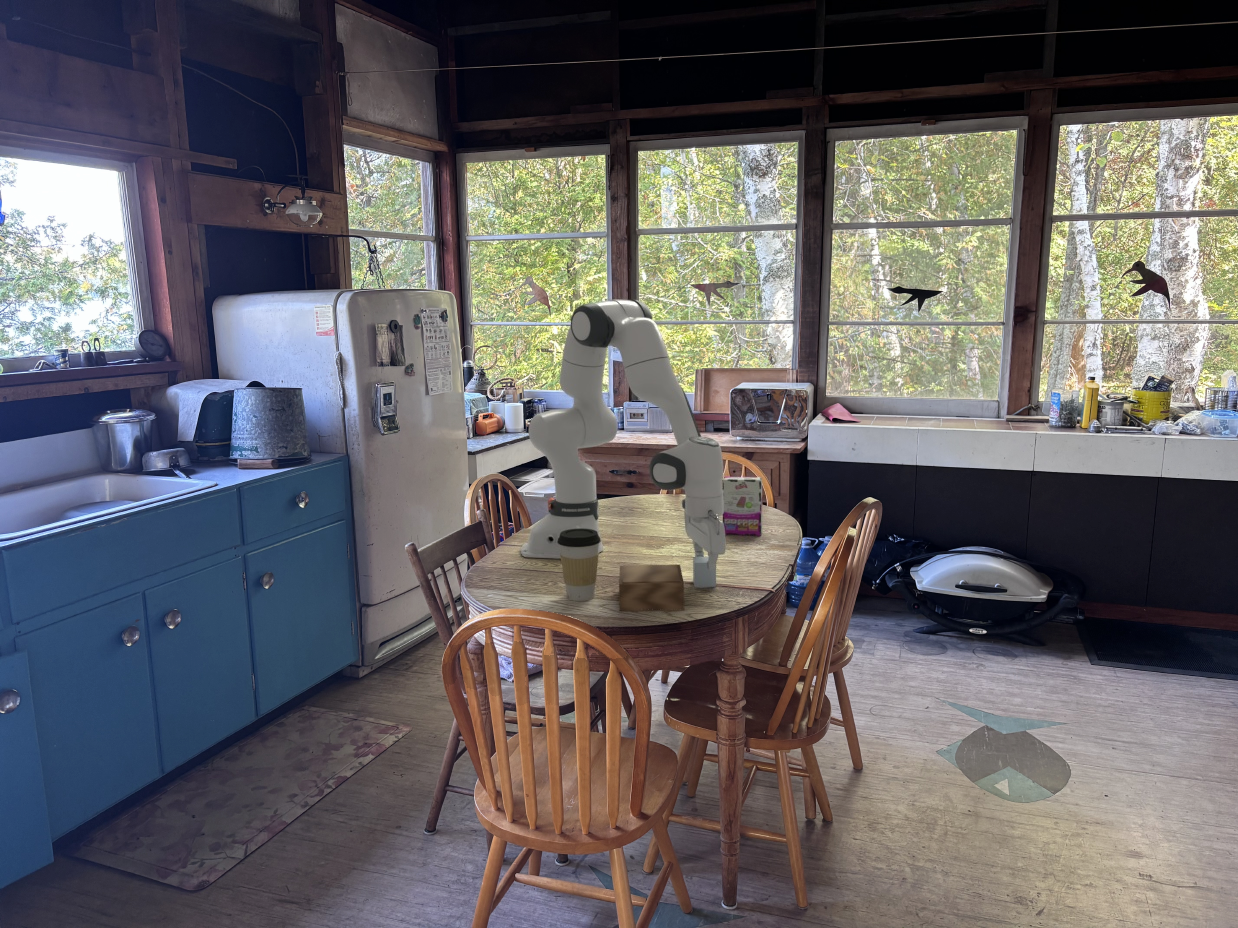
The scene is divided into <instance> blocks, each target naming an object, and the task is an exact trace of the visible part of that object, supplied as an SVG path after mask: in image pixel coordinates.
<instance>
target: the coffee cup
mask: <svg viewBox="0 0 1238 928" xmlns="http://www.w3.org/2000/svg"><path fill="white" fill-rule="evenodd" d="M600 537H601V536H600ZM600 537H599V536H598V532H597V531H595V530H592V529H584V528H578V529H569V530H565V531H562V532H561V533H560V536H559V538H558V541H557V543H558V544H559V545H560V551H561V554H560V557H561V559H560V562H561V569H562V576H563V582H564V585H565V591H566V592H565V593H566V598H567V599H568V600H570V601H573V602H574V601H575V602H586V601H590V600H593V599H594V598H595V591H596V582H597V576H598V575H597V573H598V566H599V565H598V563H599V554H600V552H599V553H598V547H599V543H600V542H601V541H602V539H600Z"/></svg>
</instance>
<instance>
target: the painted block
mask: <svg viewBox="0 0 1238 928" xmlns="http://www.w3.org/2000/svg"><path fill="white" fill-rule="evenodd" d="M708 557H709V556H704V557H695V556H693V557H692V569H693V570H692V575H693V576H692V581H693V585H694V588H716V587H717V569H716V570H709V569H708V568H707V561H708Z"/></svg>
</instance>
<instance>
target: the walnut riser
mask: <svg viewBox="0 0 1238 928" xmlns="http://www.w3.org/2000/svg"><path fill="white" fill-rule="evenodd" d="M682 572H683V571H682V568H681V564H676V563H675V564H627V565H626V564H622V565H619V573H618V574H619V576H618V596H619V601H618V602H619V612H634V611H635V612H643V611H644V612H645V611H646V612H647V611H650V612H651V611H652V612H653V611H684V610H685V583H684V577H683V573H682Z"/></svg>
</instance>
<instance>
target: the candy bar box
mask: <svg viewBox="0 0 1238 928" xmlns="http://www.w3.org/2000/svg"><path fill="white" fill-rule="evenodd" d="M722 489H723V497H724V514H723V515H722V522H723V524H724V528H725V536H729V535H730V536H754V537H756V536H757V537H759V536H762V533H763V477H762V476H761V477H759V476H757V477H756V476H723V479H722Z"/></svg>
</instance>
